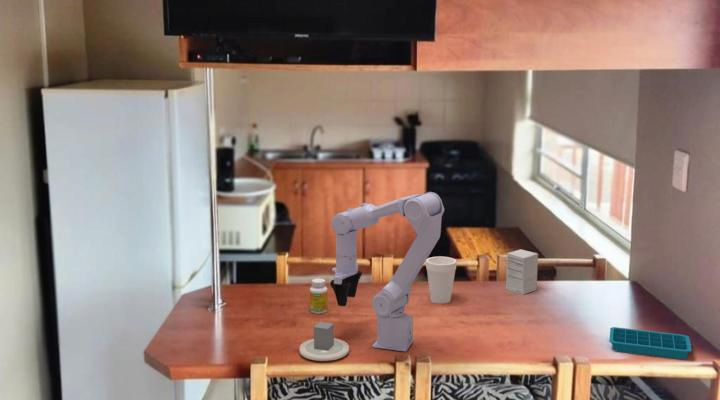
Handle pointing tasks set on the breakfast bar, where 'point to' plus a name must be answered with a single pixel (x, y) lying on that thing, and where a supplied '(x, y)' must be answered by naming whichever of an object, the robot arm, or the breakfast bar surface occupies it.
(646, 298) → the breakfast bar surface
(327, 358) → the dish
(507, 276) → the supplement box
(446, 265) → the foam cup
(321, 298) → the supplement bottle
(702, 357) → the breakfast bar surface
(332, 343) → the block
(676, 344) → the ice cube tray
